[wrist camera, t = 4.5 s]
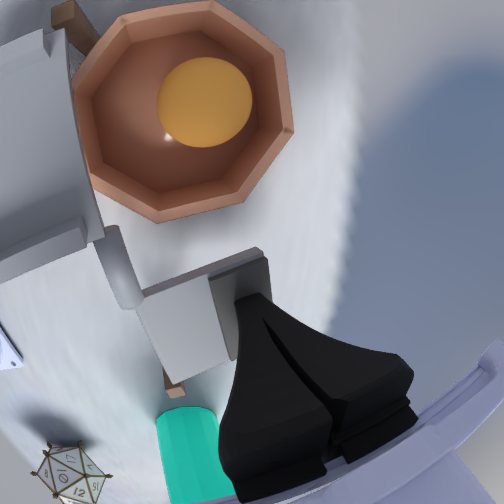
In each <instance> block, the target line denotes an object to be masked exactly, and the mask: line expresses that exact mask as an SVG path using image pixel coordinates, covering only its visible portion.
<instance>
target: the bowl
mask: <svg viewBox="0 0 504 504" xmlns="http://www.w3.org/2000/svg"><path fill="white" fill-rule="evenodd" d="M202 57H212V58H218V59H221V60H224V61H227V62H229V63H231V64H232V65H234V66H235V67H236V68H238V69H239V70H240V71H241V72H242V73H243V75H244V76H245V77H246V79H247V81H248V83H249V85H250V88H251V92H252V108H251V112H250V115H249V118H248V120H247V122H246V124H245V125H244V127H243V128H242V129H241V130H240V131H239V132H238V133H237V134H236V135H235V136H234V137H233V138H231V139H230V140H228V141H226V142H224V143H222V144H219V145H216V146H211V147H192V146H189V145H185V144H183V143H181V142H179V141H177V140H175V139H174V138H173V137H171V136H170V135H169V134H168V133H167V132H166V131H165V129H164V128H163V126H162V125H161V123H160V121H159V118H158V114H157V109H156V99H157V94H158V91H159V88H160V86H161V84H162V82H163V80H164V79H165V77H166V76H167V75H168V74H169V73H170V72H171V71H172V70H173V69H174V68H175V67H177V66H178V65H180V64H182V63H184V62H186V61H188V60H191V59H195V58H202ZM71 85H72V92H73V99H74V105H75V111H76V117H77V123H78V128H79V133H80V138H81V143H82V147H83V152H84V156H85V160H86V164H87V168H88V172H89V176H90V180H91V184H92V187H93V189H95V190H97V191H98V192H100V193H102V194H104V195H105V196H107V197H109V198H111V199H113V200H114V201H116V202H118V203H120V204H122V205H123V206H125V207H127V208H129V209H131V210H132V211H134V212H136V213H138V214H140V215H141V216H143V217H145V218H147V219H149V220H151V221H152V222H154V223H156V224H159V223H163V222H167V221H170V220H174V219H178V218H182V217H186V216H190V215H194V214H198V213H202V212H206V211H210V210H214V209H218V208H222V207H226V206H230V205H235V204H239V203H243V202H244V201H245V200H246V198H247V197H248V195H249V194H250V193H251V191H252V190H253V188H254V187H255V186H256V184H257V183H258V181H259V180H260V179H261V177H262V176H263V174H264V173H265V172H266V170H267V169H268V168H269V166H270V165H271V163H272V162H273V161H274V159H275V158H276V157H277V155H278V154H279V153H280V151H281V150H282V149H283V147H284V146H285V144H286V143H287V142H288V140H289V139H290V138H291V136H292V135H293V134H294V126H293V117H292V108H291V100H290V92H289V84H288V76H287V69H286V62H285V55H284V51H283V50H282V49H281V48H280V47H279V46H277V45H276V44H275V43H274V42H272V41H271V40H270V39H269V38H267V37H266V36H265V35H263V34H262V33H261V32H259V31H258V30H257V29H255V28H254V27H253V26H251V25H250V24H249V23H247V22H246V21H244V20H243V19H242V18H240V17H239V16H237V15H236V14H234V13H233V12H231V11H230V10H228V9H227V8H225V7H224V6H222V5H221V4H219V3H217V2H216V1H213V0H210V1H198V2H189V3H181V4H174V5H168V6H162V7H156V8H151V9H146V10H141V11H137V12H133V13H129V14H125V15H121V16H119V17H118V18H117V19H116V20H115V21H114V23H113V24H112V25H111V26H110V27H109V29H108V30H107V31H106V32H105V33H104V35H103V36H102V37H101V38H100V40H99V41H98V42H97V43H96V45H95V46H94V47H93V49H92V50H91V51H90V53H89V54H88V55H87V57H86V58H85V60H84V61H83V62H82V64H81V65H80V67H79V68H78V70H77V71H76V73H75V74H74V76H73V77H72V79H71Z"/></svg>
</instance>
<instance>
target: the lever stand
mask: <svg viewBox="0 0 504 504" xmlns="http://www.w3.org/2000/svg"><path fill="white" fill-rule="evenodd" d="M51 27H52V28H53V29H55V30H56V31H57V30H60V29H63V28H65V32H66V35H67V40H68V41H69V42H70V43H71V44H72V45H73V46H74V47H76V48H77V49H78V50H79V51H80V52H81V53H83V54H84V55H85V56H86V57H87V55H88V54H89V53H90V51H91V50H92V49H93V47H94V46H95V45H96V43H97V42H98V41H99V40H100V36H99V35H98V33H97V32H96V30H95V29H94V27H93V26H92V24H91V23H90V22H89V20H88V19H87V17H86V16H85V14H84V13H83V11H82V10H81V8H80V7H79V5H78V4H77V3H76V1H75V0H70V1H67V2H65V3H62V4H60V5H58V6H55V7H53V8H51ZM162 366H163V365H162ZM163 375H164V382H165V390H166V392H167V393H168V395H169V397H170V398H171V399H173V398H177V397H181V396H185V395H186V394H185V389H184V384H183V381H181V382H178V383H176V384H172V382H171V380H170V378H169V376H168V375H167V373H166V371H165V369H164V367H163Z"/></svg>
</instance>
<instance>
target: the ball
mask: <svg viewBox="0 0 504 504" xmlns="http://www.w3.org/2000/svg"><path fill="white" fill-rule="evenodd" d="M251 108H252V92H251V88H250V85H249V83H248V81H247V79H246V77H245V76H244V75H243V73H242V72H241V71H240V70H239V69H238V68H236V67H235V66H234V65H232V64H231V63H229V62H227V61H224V60H221V59H218V58H212V57H202V58H195V59H191V60H188V61H186V62H184V63H182V64H180V65H178V66H177V67H175V68H174V69H173V70H172V71H171V72H170V73H169V74H168V75H167V76H166V77H165V79H164V80H163V82H162V84H161V86H160V88H159V91H158V94H157V99H156V109H157V114H158V118H159V121H160V123H161V125H162V126H163V128H164V129H165V131H166V132H167V133H168V134H169V135H170V136H171V137H173V138H174V139H175V140H177V141H179V142H181V143H183V144H185V145H189V146H192V147H211V146H216V145H219V144H222V143H224V142H226V141H228V140H230V139H231V138H233V137H234V136H235V135H236V134H237V133H238V132H239V131H240V130H241V129H242V128H243V127H244V125H245V124H246V122H247V120H248V118H249V115H250V112H251Z"/></svg>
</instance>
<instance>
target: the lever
mask: <svg viewBox="0 0 504 504" xmlns="http://www.w3.org/2000/svg"><path fill="white" fill-rule="evenodd" d="M90 242H93V244H94V246H95V249H96V252H97V254H98V257H99V259H100V262H101V264H102V267H103V269H104V272H105V274H106V277H107V279H108V281H109V284H110V286H111V288H112V291H113V293H114V295H115V297H116V300H117V302H118V304H119V306H120V308H121V309H123V310H131V309H134V308H135V310H136V313H137V315H138V317H139V319H140V321H141V323H142V326H143V328H144V330H145V332H146V334H147V336H148V338H149V340H150V342H151V344H152V346H153V348H154V350H155V352H156V354H157V356H158V358H159V360H160V362H161V364H162V365H163V367H164V369H165V371H166V373H167V375H168V376H169V378H170V380H171V382H172V384H176V383H178V382H181V381H183V380H185V379H188V378H190V377H193V376H195V375H197V374H199V373H202V372H204V371H206V370H209V369H211V368H213V367H215V366H217V365H220V364H222V363H224V362H226V361H228V360H231V361H233V360H235V359H237V356H238V339H239V331H238V321H237V316H236V312H235V307H234V302H235V300H237V299H240V298H243V297H245V296H248V295H252V294H255V293H261V294H263V295H264V296H265V297H266V298H267V299H269V300H270V301H271V302H272V303H273V301H272V292H271V283H270V274H269V266H268V259H267V258H266V257H265V256H264V254H263V251H262V250H260V249H259V248H257V247H253V248H250V249H248V250H245V251H243V252H240V253H237V254H235V255H232V256H229V257H227V258H224V259H222V260H219V261H216V262H214V263H211V264H208V265H206V266H203V267H201V268H198V269H195V270H193V271H190V272H187V273H185V274H182V275H180V276H177V277H174V278H172V279H169V280H167V281H164V282H161V283H159V284H156V285H153V286H151V287H148V288H146V289H143V290H141V288H140V285H139V283H138V280H137V277H136V275H135V272H134V269H133V267H132V264H131V261H130V258H129V255H128V253H127V250H126V247H125V244H124V241H123V238H122V235H121V232H120V229H119V226H118V225H111V226H107V227H104V224H103V221H102V218H101V215H100V211H99V208H98V205H97V201H96V198H95V194H94V191H93V187H92V184H91V180H90V176H89V172H88V168H87V164H86V160H85V156H84V152H83V147H82V143H81V138H80V133H79V128H78V123H77V117H76V111H75V105H74V99H73V92H72V85H71V76H70V67H69V56H68V43H67V35H66V32H65V28H63V29H60V30H57V31H54V32H51V33H48V34H45V32H44V30H43V28H41V29H39V30H36V31H34V32H31V33H29V34H26V35H24V36H22V37H19V38H17V39H15V40H13V41H11V42H9V43H7V44H5V45H3V46H1V47H0V284H2V283H4V282H6V281H8V280H11V279H13V278H15V277H17V276H19V275H22V274H24V273H26V272H28V271H31V270H33V269H35V268H38V267H40V266H42V265H45V264H47V263H49V262H52V261H54V260H57V259H59V258H61V257H64V256H66V255H69V254H71V253H74V252H76V251H79V250H81V249H84V248H86V247H87V244H88V243H90Z"/></svg>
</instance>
